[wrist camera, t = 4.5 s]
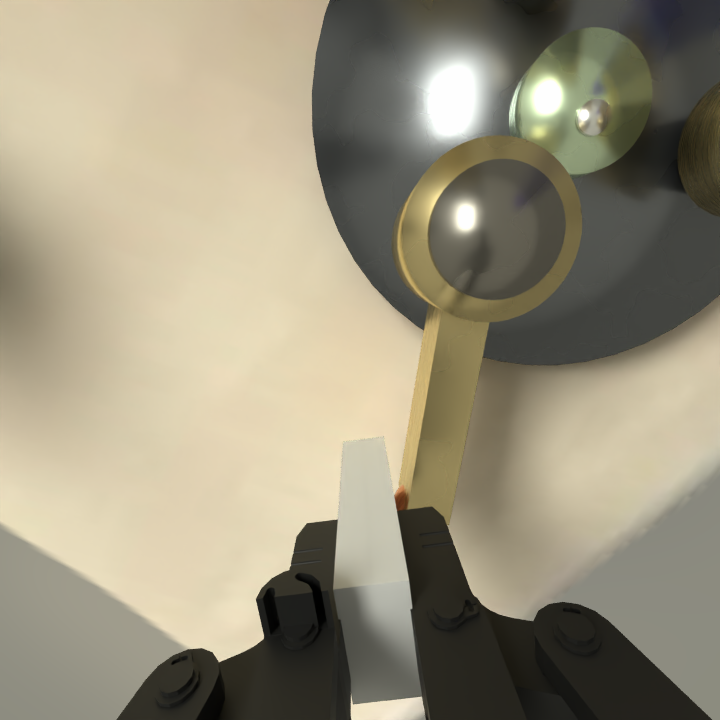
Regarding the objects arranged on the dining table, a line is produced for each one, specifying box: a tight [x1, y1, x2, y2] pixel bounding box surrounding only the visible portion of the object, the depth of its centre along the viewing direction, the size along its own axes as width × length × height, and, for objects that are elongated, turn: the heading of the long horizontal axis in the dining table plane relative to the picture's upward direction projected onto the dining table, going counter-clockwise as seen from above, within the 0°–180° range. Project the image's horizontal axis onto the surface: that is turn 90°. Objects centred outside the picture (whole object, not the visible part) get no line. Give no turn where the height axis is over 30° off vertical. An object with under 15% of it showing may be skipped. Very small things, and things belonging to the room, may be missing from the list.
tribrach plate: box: [312, 0, 720, 365], centre depth 14 cm, size 17×17×3 cm
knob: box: [391, 135, 582, 525], centre depth 12 cm, size 12×4×4 cm, turn 173°
